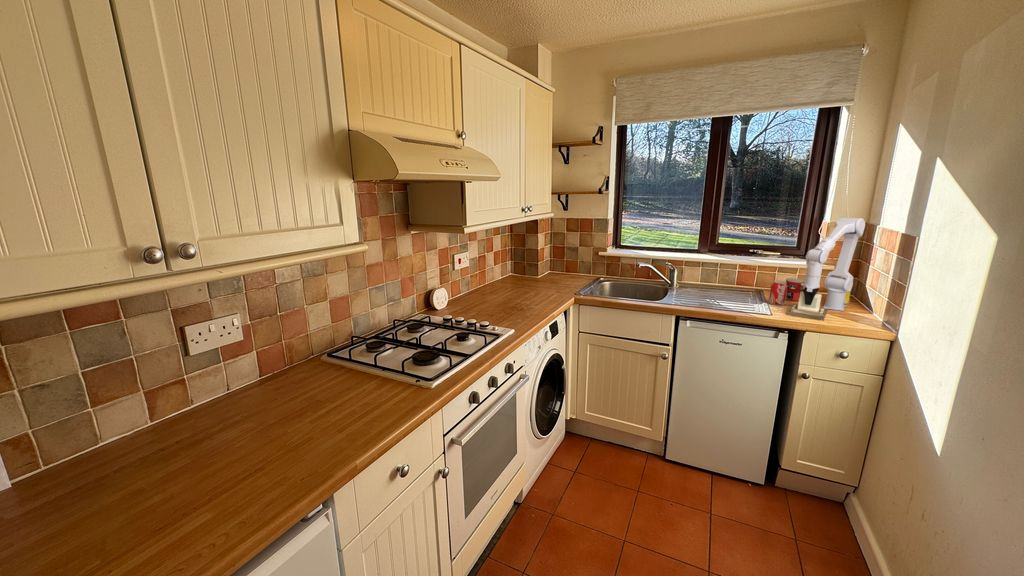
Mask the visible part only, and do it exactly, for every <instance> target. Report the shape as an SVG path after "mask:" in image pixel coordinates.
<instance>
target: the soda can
mask: <svg viewBox="0 0 1024 576" xmlns="http://www.w3.org/2000/svg"><path fill="white" fill-rule="evenodd" d="M787 288H788V286H787V282H786V280H785V281H784V280H773V282H772V283H771V287H770V291H769V298H768V300H769V301H768V303H769V304H770V305H771V306H775V307H782V306H784V305H785V304H786V301H787V300H786V295H787Z"/></svg>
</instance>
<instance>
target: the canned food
mask: <svg viewBox="0 0 1024 576" xmlns="http://www.w3.org/2000/svg"><path fill="white" fill-rule="evenodd" d="M785 282H787V286H788V288H787V295H786V301H787V302H793V303H795V302H798V303H799V298H800V293H801V292H803V289H804V286H803V285H801V284H802V283H805V280H804V279H801V278H792V277H791V278H790V277H788V278H786V279H785Z"/></svg>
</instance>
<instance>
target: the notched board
mask: <svg viewBox="0 0 1024 576" xmlns="http://www.w3.org/2000/svg"><path fill="white" fill-rule="evenodd" d="M798 304H799V303H792V305H791V306H790V308H789V309H788V311H787V312H786V315H787V316H791V317H795V318H796V317H797V318H804V319H810V320H816V321H821V320H822V321H821V322H823V321H825V317H826V315H827V313H828V310H829V309H827V308H823V307H819V312H814V311H808V310H801V309H797V308H798Z"/></svg>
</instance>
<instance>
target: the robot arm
mask: <svg viewBox="0 0 1024 576" xmlns="http://www.w3.org/2000/svg"><path fill="white" fill-rule="evenodd" d="M833 226H834V228H833V230H832V231H831V232H830V234H829V235H828V236H827V237H825V238H822V240H821V241H820V242H819V243H818V244H817V245H816V246H815V247H814V248H813V249H809V250H808V251H807V252H806V255H805V260H806V265H807V266H806V272H805V277H804V279H805V280H804V283H802V284H801V285H803V293H804V296H805V304H806V305H811V304H812V301H813V298H814V296H815V295H816V294H818V292H819V290H820V286H821V285H820V284H821V278H822V272H823V265H824V263H825V262H827V260H828V257H829V255H830V252H831V251H832V250H833V249H834V248H835V247H836V244H837V243H836V242H837V241H838V240H839V239H840V238H842V236H843V238H844V240H843V243H842V246H841V249H840V252H839V255H838V259H837V261H836V266H835V269H834V270H832V271H830V272H828V274H827V276H826V277H825V279H824V282H823V285H824V287H825V289H826V290H827V293H826V299H825V303H824V304H823V307H822V308H827V309H828V310H834V311H840V312H841V311H842V312H844V311H845V307H846V306H844V301H845V296H846V292H848V291H849V290H851V291H852V288H853V285H854V276H853V275H852V274H851V273H850V272H849V269H850V266H851V263H852V261H853V257H854V253H855V251H856V247H857V243H858V240H859V238H861V237H863V234H864V230H865V228H866V222H865V220H864V218H862V217H860V218H859V217H857V218H856V217H844V216H839V217H838V218H836V220H835V222H834V225H833Z"/></svg>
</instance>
